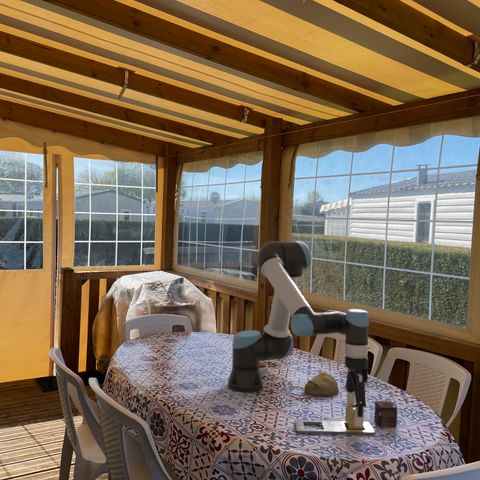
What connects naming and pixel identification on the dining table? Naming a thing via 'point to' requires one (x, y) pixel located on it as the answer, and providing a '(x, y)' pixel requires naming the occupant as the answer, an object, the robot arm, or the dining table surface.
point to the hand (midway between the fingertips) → (354, 418)
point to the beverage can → (365, 373)
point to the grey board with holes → (333, 428)
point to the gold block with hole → (351, 418)
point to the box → (385, 414)
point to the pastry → (322, 385)
